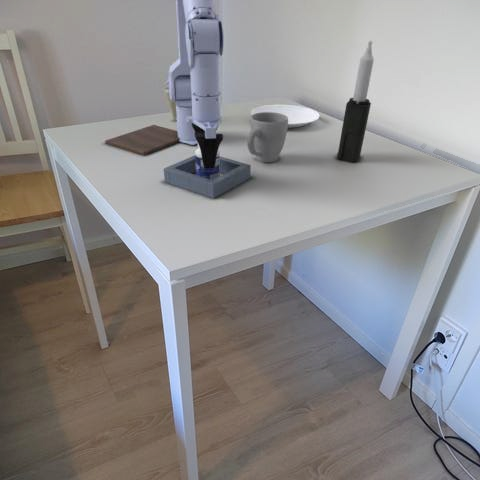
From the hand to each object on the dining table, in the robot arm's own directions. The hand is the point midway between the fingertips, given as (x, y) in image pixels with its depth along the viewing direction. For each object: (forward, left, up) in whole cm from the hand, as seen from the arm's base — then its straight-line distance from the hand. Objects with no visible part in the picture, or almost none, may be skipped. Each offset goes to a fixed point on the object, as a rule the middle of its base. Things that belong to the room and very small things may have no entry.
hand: (207, 162), depth 92 cm
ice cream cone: (-29, -36, -4) cm, 46 cm away
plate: (-50, -10, -4) cm, 51 cm away
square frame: (0, 0, -4) cm, 4 cm away
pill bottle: (0, 0, -4) cm, 4 cm away
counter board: (-11, -29, -4) cm, 31 cm away
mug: (-18, +3, -4) cm, 19 cm away
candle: (-33, +19, -4) cm, 38 cm away
